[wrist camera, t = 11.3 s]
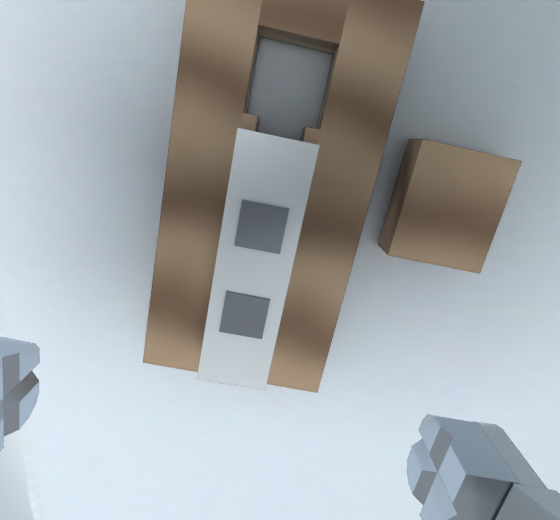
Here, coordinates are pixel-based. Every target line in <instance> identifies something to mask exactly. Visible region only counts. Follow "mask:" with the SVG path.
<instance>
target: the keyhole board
mask: <svg viewBox="0 0 560 520" xmlns="http://www.w3.org/2000/svg"><path fill="white" fill-rule="evenodd" d="M424 2H425V1H421V0H186V8H185V16H184V24H183V33H182V41H181V49H180V58H179V66H178V74H177V83H176V91H175V99H174V108H173V116H172V124H171V133H170V141H169V149H168V158H167V166H166V174H165V183H164V191H163V199H162V208H161V216H160V224H159V233H158V241H157V249H156V258H155V266H154V274H153V283H152V291H151V300H150V308H149V316H148V325H147V333H146V341H145V350H144V358H143V363H149V364H154V365H160V366H166V367H172V368H177V369H183V370H189V371H195V372H198V369H199V363H200V356H201V350H202V344H203V338H204V332H205V326H206V319H207V313H208V307H209V301H210V295H211V289H212V282H213V276H214V270H215V264H216V258H217V252H218V245H219V239H220V233H221V227H222V221H223V215H224V208H225V202H226V196H227V190H228V184H229V178H230V171H231V165H232V159H233V153H234V147H235V141H236V134H237V128H241V129H246V130H251V131H255V132H257V128H258V122H259V117H258V116H256V115H251V114H247V109H248V104H249V98H250V92H251V86H252V80H253V74H254V69H255V63H256V57H257V51H258V45H259V39H260V37H263V38H267V39H272V40H276V41H280V42H285V43H289V44H293V45H297V46H302V47H306V48H310V49H314V50H319V51H323V52H327V53H331V54H333V57H332V62H331V66H330V71H329V75H328V80H327V84H326V89H325V93H324V98H323V102H322V107H321V111H320V116H319V120H318V125H317V129H315V128H310V127H305V128H303V133H302V138H301V141H302V142H307V143H312V144H316V145H320V146H319V150H318V155H317V159H316V164H315V168H314V173H313V177H312V182H311V186H310V191H309V195H308V200H307V204H306V209H305V213H304V218H303V222H302V227H301V231H300V236H299V240H298V244H297V249H296V253H295V258H294V262H293V267H292V271H291V276H290V280H289V285H288V289H287V294H286V298H285V303H284V307H283V312H282V316H281V321H280V325H279V330H278V334H277V339H276V343H275V348H274V352H273V357H272V361H271V366H270V370H269V375H268V379H267V384H270V385H276V386H282V387H287V388H293V389H299V390H305V391H310V392H316V393H317V392H318V389H319V385H320V381H321V378H322V374H323V370H324V367H325V363H326V359H327V356H328V352H329V348H330V345H331V341H332V337H333V334H334V330H335V327H336V323H337V319H338V316H339V312H340V308H341V305H342V301H343V297H344V294H345V290H346V286H347V283H348V279H349V276H350V272H351V268H352V265H353V261H354V257H355V254H356V250H357V246H358V243H359V239H360V235H361V232H362V228H363V224H364V221H365V217H366V214H367V210H368V206H369V203H370V199H371V195H372V192H373V188H374V184H375V181H376V177H377V173H378V170H379V166H380V162H381V159H382V155H383V152H384V148H385V144H386V141H387V137H388V133H389V130H390V126H391V122H392V119H393V115H394V111H395V108H396V104H397V100H398V97H399V93H400V90H401V86H402V82H403V79H404V75H405V71H406V68H407V64H408V60H409V57H410V53H411V49H412V46H413V42H414V39H415V35H416V31H417V28H418V24H419V20H420V17H421V13H422V9H423V6H424Z"/></svg>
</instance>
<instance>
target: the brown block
mask: <svg viewBox="0 0 560 520" xmlns="http://www.w3.org/2000/svg"><path fill="white" fill-rule="evenodd" d="M521 163H522V161H519V160H515V159H511V158H506V157H502V156H497V155H493V154H488V153H484V152H479V151H475V150H470V149H466V148H461V147H457V146H452V145H448V144H443V143H439V142H434V141H430V140H425V139H408V143H407V146H406V150H405V153H404V157H403V160H402V164H401V167H400V171H399V174H398V177H397V181H396V184H395V188H394V191H393V195H392V198H391V202H390V205H389V209H388V212H387V215H386V219H385V222H384V226H383V229H382V233H381V236H380V240H379V243H378V245H379V246H380V247H381V248H382V249H383V251H384V252H385V253H386V254H387V255H390V256H394V257H399V258H404V259H409V260H414V261H419V262H424V263H429V264H434V265H439V266H444V267H449V268H454V269H459V270H464V271H469V272H474V273H479V274H480V272H481V269H482V267H483V264H484V261H485V259H486V256H487V253H488V251H489V248H490V245H491V243H492V240H493V237H494V235H495V232H496V229H497V227H498V224H499V221H500V219H501V216H502V213H503V211H504V208H505V205H506V203H507V200H508V197H509V195H510V192H511V189H512V187H513V184H514V181H515V179H516V176H517V174H518V171H519V168H520V166H521Z"/></svg>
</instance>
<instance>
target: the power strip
mask: <svg viewBox="0 0 560 520" xmlns="http://www.w3.org/2000/svg"><path fill="white" fill-rule="evenodd" d="M319 146H320V145H316V144H312V143H307V142H302V141H298V140H293V139H288V138H283V137H279V136H274V135H269V134H265V133H260V132H255V131H251V130H246V129H241V128H237V134H236V141H235V147H234V153H233V159H232V165H231V171H230V178H229V184H228V190H227V196H226V202H225V208H224V215H223V221H222V227H221V233H220V239H219V245H218V252H217V258H216V264H215V270H214V276H213V282H212V289H211V295H210V301H209V307H208V313H207V319H206V326H205V332H204V338H203V344H202V350H201V356H200V363H199V369H198V375H197V379H201V380H207V381H213V382H219V383H225V384H231V385H237V386H243V387H249V388H254V389H260V390H265V388H266V384H267V379H268V375H269V370H270V366H271V361H272V357H273V352H274V348H275V343H276V339H277V334H278V330H279V325H280V321H281V316H282V312H283V307H284V303H285V298H286V294H287V289H288V285H289V280H290V276H291V271H292V267H293V262H294V258H295V253H296V249H297V244H298V240H299V236H300V231H301V227H302V222H303V218H304V213H305V209H306V204H307V200H308V195H309V191H310V186H311V182H312V177H313V173H314V168H315V164H316V159H317V155H318V150H319Z"/></svg>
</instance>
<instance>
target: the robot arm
mask: <svg viewBox="0 0 560 520" xmlns="http://www.w3.org/2000/svg"><path fill="white" fill-rule="evenodd" d="M39 363H40V353H39V347H38V346H37V345H36V344H35V343H30V342H25V341H20V340H15V339H10V338H5V337H0V451H1V450H2V449H3V448H4V445H3V444H4V436H6V435H8V434H10V433H13V432H14V431H17V430H19V429H20V428H21V427H22V426H23V424H24V423H25V422H26V421H27V420H28V418H29V417H30V415H31V413H32V411H33V409H34V407H35V405H36V402H37V398H38V394H39V380H38V379H37V377H36V376H35V374H34V373H33V372H32V370H33V369H34V368H35V367H36V366H37V365H38V364H39ZM419 432H420V434H421V437H422V439H421V440H420V441H418V442H417V443H415V444H414V445H412V447H411V450H410V453H409V456H408V460H407V477H408V483H409V486H410V489H411V492H412V494H413V495H414V496H415V497H416V498H417V499H418V500H419V501H420V502H421V503H422V504H423V508H422V510H421V513H420V516H421V519H422V520H560V493H558V492H557V491H555V490H550V489H547V487H546V486H545V485H544V483H543V482H542V481H541V479H540V478H539V477H538V475H537V474H536V473H535V471H534V470H533V469H532V467H531V466H530V465H529V463H528V462H527V461H526V459H525V458H524V457H523V456H522V454H521V453H520V452H519V450H518V449H517V448H516V446H515V445H514V444H513V442H512V441H511V440H510V438H509V437H508V436H507V434H506V433H505V432H504V430H503V429H502V428H500V427H499V426H497V425H495V424H488V423H481V422H474V421H473V422H470V421H464V420H458V419H452V418H446V417H440V416H434V415H428V414H427V416H426V417H425V418H424V419H423V420H422V422H421V425H420V427H419Z"/></svg>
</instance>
